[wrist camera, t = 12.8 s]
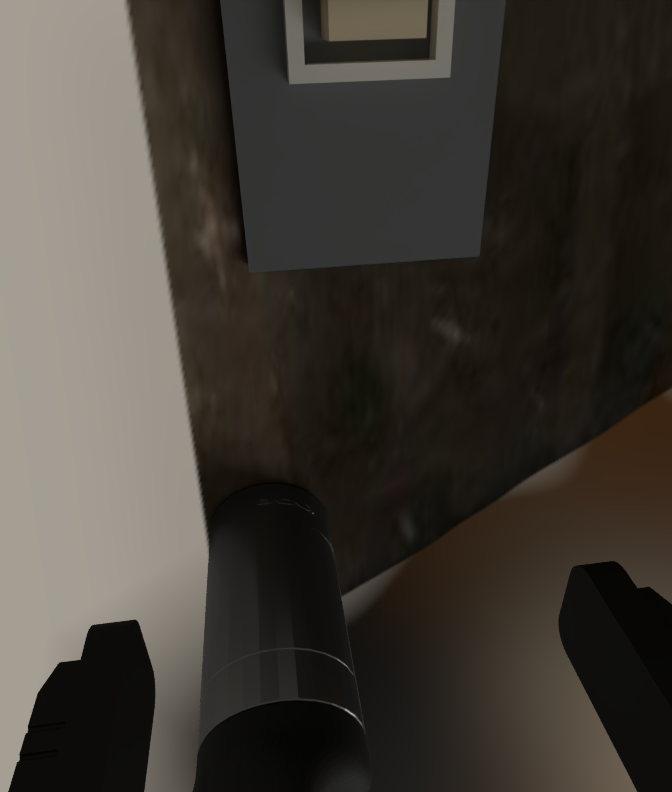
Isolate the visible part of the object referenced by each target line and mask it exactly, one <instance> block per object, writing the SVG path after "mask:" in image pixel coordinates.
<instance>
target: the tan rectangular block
mask: <svg viewBox="0 0 672 792" xmlns="http://www.w3.org/2000/svg"><path fill="white" fill-rule="evenodd" d="M320 4H321V34H322V39H323V40H327V41H349V40H379V39H408V38H426V35H427V13H428V0H320Z"/></svg>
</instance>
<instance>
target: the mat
mask: <svg viewBox="0 0 672 792" xmlns="http://www.w3.org/2000/svg"><path fill="white" fill-rule="evenodd" d="M505 3H506V0H455V12H454V27H453V43H452V58H451V73H450V78H426V79H402V80H379V81H355V82H331V83H307V84H289V83H288V76H287V60H286V44H285V27H284V11H283V0H220V4H221V13H222V22H223V32H224V41H225V50H226V60H227V69H228V78H229V88H230V97H231V106H232V116H233V125H234V135H235V144H236V153H237V163H238V172H239V181H240V191H241V200H242V209H243V219H244V228H245V237H246V247H247V256H248V266H249V273H253V272H267V271H281V270H295V269H309V268H323V267H337V266H350V265H364V264H378V263H392V262H406V261H420V260H434V259H448V258H461V257H475V256H479V255H480V245H481V235H482V226H483V216H484V206H485V197H486V187H487V177H488V167H489V158H490V148H491V138H492V129H493V119H494V109H495V100H496V90H497V80H498V71H499V61H500V51H501V41H502V32H503V22H504V12H505ZM431 14H432V0H428V13H427V35H426V38H408V39H379V40H349V41H327V40H323V39H322V34H321V4H320V0H302V15H303V36H304V57H305V63H327V62H353V61H379V60H405V59H429V55H430V34H431Z"/></svg>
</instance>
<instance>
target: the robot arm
mask: <svg viewBox="0 0 672 792" xmlns="http://www.w3.org/2000/svg"><path fill="white" fill-rule="evenodd" d="M206 595H207V596H206V612H205V630H204V646H203V663H202V681H201V699H200V703H201V704H200V720H199V738H198V755H197V770H196V779H195V784H194V788H193V792H369V790H370V785H371V765H370V758H369V752H368V747H367V741H366V735H365V729H364V724H363V718H362V712H361V706H360V700H359V694H358V689H357V684H356V679H355V673H354V667H353V662H352V656H351V650H350V644H349V639H348V633H347V627H346V621H345V616H344V610H343V604H342V598H341V593H340V587H339V581H338V576H337V570H336V564H335V558H334V552H333V546H332V541H331V535H330V529H329V524H328V518H327V514H326V512H325V510H324V507H323V506H322V505H321V503H320V502H319V501H318V500H317V499H316V498H315V497H314V496H312V495H311V494H310V493H308V492H306V491H304V490H302V489H300V488H297V487H293V486H289V485H284V484H263V485H257V486H253V487H249V488H246V489H244V490H242V491H239V492H237V493H235V494H234V495H232V496H231V497H229V498H228V499H227V500H226V501H225V502H224V503H223V504H222V505H221V506H220V507H219V508H218V509H217V511H216V513H215V514H214V516H213V519H212V523H211V530H210V547H209V563H208V577H207V594H206ZM559 632H560V637H561V641H562V644H563V646H564V649H565V651H566V654H567V655H568V657H569V659H570V661H571V663H572V665H573V667H574V669H575V671H576V673H577V675H578V677H579V679H580V681H581V683H582V685H583V687H584V689H585V690H586V692H587V694H588V696H589V698H590V700H591V702H592V704H593V706H594V708H595V710H596V712H597V714H598V716H599V718H600V720H601V722H602V724H603V726H604V728H605V730H606V731H607V733H608V735H609V737H610V739H611V741H612V743H613V745H614V747H615V749H616V751H617V753H618V755H619V757H620V759H621V761H622V763H623V765H624V767H625V768H626V770H627V772H628V774H629V776H630V778H631V780H632V782H633V784H634V786H635V788H636V790H637V792H672V604H671V603H669V602H668V601H667V600H665V599H664V598H663V597H662V596H660V595H659V594H658V593H657V592H655V591H654V590H653V589H651V588H650V587H645V588H637V587H636V585H635V584H634V583H633V581H632V580H631V578H630V577H629V575H628V574H627V572H626V571H625V570H624V569H623V567H622V566H621V565H620V564H618V563H617V562H615V561H609V562H601V563H594V564H586V565H578V566H574V567H573V568H572V570H571V573H570V576H569V580H568V584H567V588H566V592H565V595H564V599H563V603H562V607H561V610H560V614H559ZM154 708H155V679H154V672H153V668H152V665H151V661H150V659H149V655H148V652H147V648H146V645H145V642H144V639H143V635H142V632H141V629H140V626H139V623H138V622H137V620H129V621H121V622H113V623H105V624H97V625H92V626H91V628H90V629H89V631H88V633H87V637H86V641H85V645H84V649H83V653H82V657H81V660H76V661H68V662H61V663H59V664H58V665H57V667H56V668H55V669H54V671H53V672H52V674H51V675H50V677H49V678H48V679H47V681H46V682H45V684H44V685H43V687H42V688H41V689H40V691H39V692H38V695H37V698H36V701H35V704H34V708H33V712H32V714H31V718H30V721H29V724H28V733H26V735H25V738H24V741H23V745H22V748H21V751H20V760H19V762H17V765H16V768H15V771H14V775H13V778H12V781H11V785H10V788H9V791H8V792H144V789H145V781H146V773H147V765H148V756H149V748H150V740H151V733H152V724H153V716H154Z"/></svg>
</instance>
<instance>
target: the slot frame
mask: <svg viewBox="0 0 672 792" xmlns="http://www.w3.org/2000/svg"><path fill="white" fill-rule="evenodd" d="M283 11H284V27H285V44H286V60H287V76H288V83H289V84H307V83H331V82H355V81H379V80H402V79H426V78H450V73H451V58H452V43H453V27H454V12H455V0H432V14H431V34H430V55H429V59H405V60H379V61H353V62H327V63H305V57H304V36H303V15H302V0H283Z"/></svg>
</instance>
